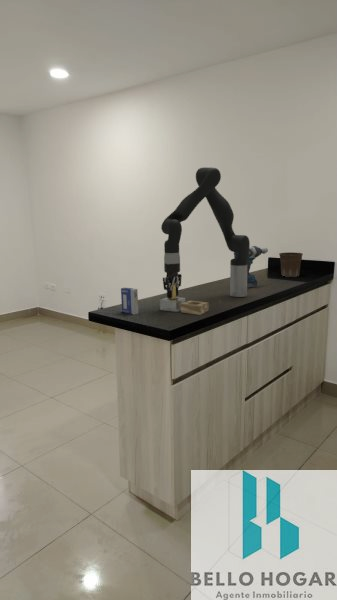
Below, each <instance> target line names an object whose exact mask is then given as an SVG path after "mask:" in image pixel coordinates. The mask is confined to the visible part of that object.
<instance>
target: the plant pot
mask: <svg viewBox="0 0 337 600" xmlns="http://www.w3.org/2000/svg"><path fill="white" fill-rule="evenodd" d="M278 255H279V259H280V272H281V273H280V274H281V275H282V276H281V277H283V276H285V277H284V278H290V277H291V278H297V276H298V277H300V271H301V263H302V257H303V253H302V252H279V253H278Z"/></svg>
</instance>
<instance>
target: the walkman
mask: <svg viewBox="0 0 337 600" xmlns="http://www.w3.org/2000/svg"><path fill="white" fill-rule="evenodd" d="M138 293H139V292H138V288H132V287H122V288H120V294H121V295H120V299H121V313H122V312H124V313H123V314H128V313H129V314H130V315H137V314H139V297H138Z"/></svg>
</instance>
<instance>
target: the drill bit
mask: <svg viewBox="0 0 337 600" xmlns="http://www.w3.org/2000/svg"><path fill="white" fill-rule="evenodd" d="M169 288H170V286H169ZM171 291H172V298H170V300H176V297H177V296H176V284H173V286H172V290H171Z"/></svg>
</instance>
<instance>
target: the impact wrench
mask: <svg viewBox="0 0 337 600" xmlns="http://www.w3.org/2000/svg"><path fill="white" fill-rule="evenodd" d="M267 253H268V247H262V248H261V247H258V246H256V245H253V246H252V245H251V246H250V247H249V259H248V264H247V289H252V288H253V287H254V288H256V287H258V280H257V279H256V275H254V274H250V270H251V267H252V264H253V261H254V260H256V258H259V256H261V255H262V254H263V255H265V254H267ZM237 256H238V252H233V257H234V258H236V257H237ZM234 258H233V259H234Z"/></svg>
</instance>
